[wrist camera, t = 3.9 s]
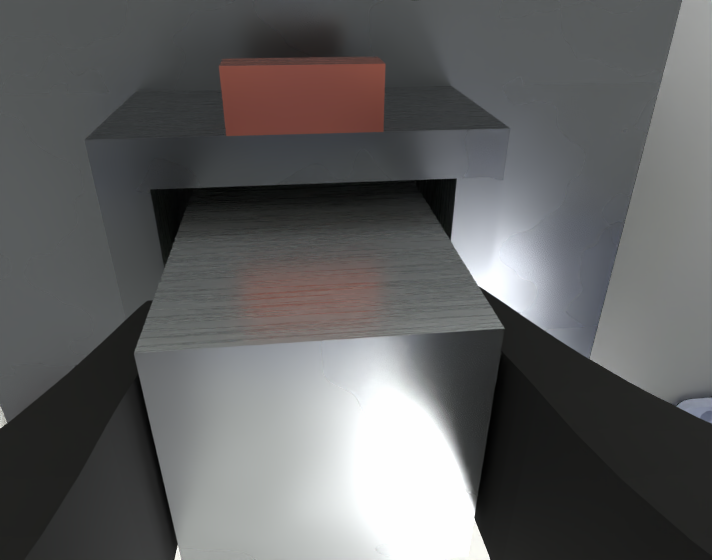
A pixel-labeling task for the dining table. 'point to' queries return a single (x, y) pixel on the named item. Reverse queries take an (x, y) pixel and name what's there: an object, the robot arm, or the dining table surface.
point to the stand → (312, 142)
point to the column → (318, 376)
